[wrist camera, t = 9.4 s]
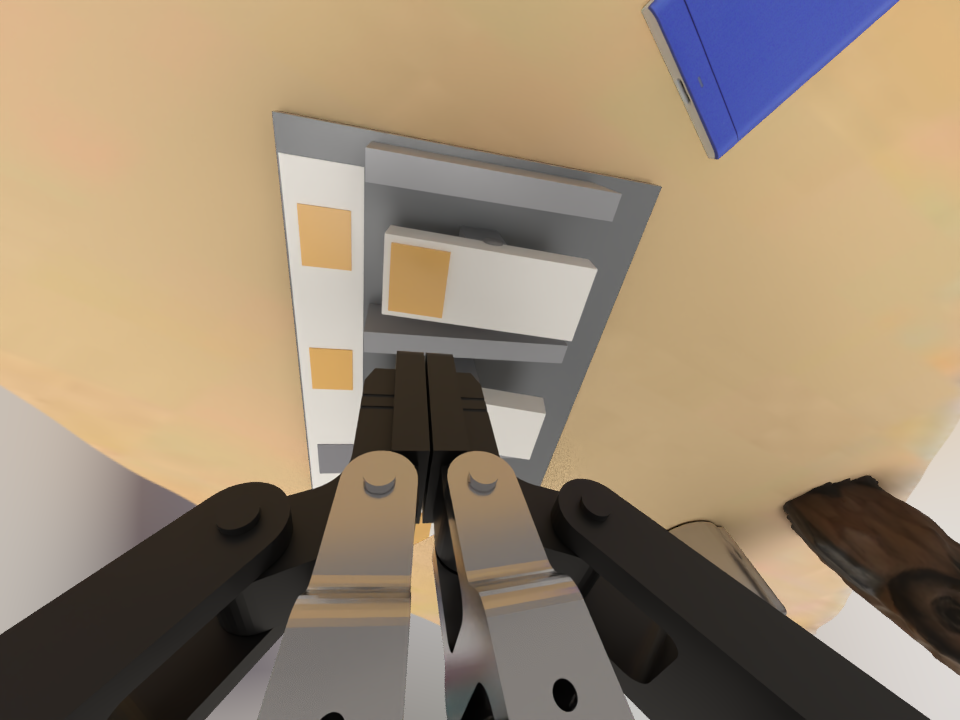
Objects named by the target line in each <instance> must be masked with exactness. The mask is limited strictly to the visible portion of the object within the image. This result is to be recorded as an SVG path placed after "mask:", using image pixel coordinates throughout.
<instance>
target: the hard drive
mask: <svg viewBox="0 0 960 720" xmlns="http://www.w3.org/2000/svg"><path fill="white" fill-rule="evenodd" d="M898 1H899V0H650V1H649V2H648V3H647V4H646V5H645V7H644V8H643V9H642V10H641V11H642V14H643V16H644V18H645V20H646V22H647V25H648V27H649V29H650V31H651V33H652V35H653V38H654V40H655V42H656V44H657V46H658V48H659V51H660V53H661V55H662V57H663V59H664V62H665V64H666V66H667V68H668V70H669V72H670V75H671V77H672V79H673V81H674V84H675V86H676V88H677V90H678V92H679V94H680V96H681V99H682V101H683V103H684V105H685V107H686V110H687V112H688V114H689V116H690V118H691V121H692V123H693V125H694V127H695V129H696V132H697V134H698V136H699V138H700V140H701V143H702V145H703V147H704V149H705V151H706V154H707V156H708V158H711V159H719V158H720V157H721V156H723V155H724V154H725V153H726V152H727V151H728V150H730V149H731V148H732V147H733V146H734V145H735V144H736V143H737V142H738V141H739V140H741V139H742V138H743V137H744V136H745V135H746V134H747V133H749V132H750V131H751V130H752V129H753V128H754V127H755V126H757V125H758V124H759V123H760V122H761V121H762V120H763V119H765V118H766V117H767V116H768V115H769V114H770V113H771V112H773V111H774V110H775V109H776V108H777V107H778V106H779V105H780V104H782V103H783V102H784V101H785V100H786V99H787V98H789V97H790V96H791V95H792V94H793V93H794V92H795V91H796V90H798V89H799V88H800V87H801V86H802V85H803V84H804V83H805V82H807V81H808V80H809V79H810V78H811V77H812V76H814V75H815V74H816V73H817V72H818V71H819V70H821V69H822V68H823V67H824V66H825V65H826V64H827V63H829V62H830V61H831V60H832V59H833V58H834V57H835V56H837V55H838V54H839V53H840V52H841V51H842V50H843V49H845V48H846V47H847V46H848V45H849V44H850V43H851V42H853V41H854V40H855V39H856V38H857V37H858V36H859V35H861V34H862V33H863V32H864V31H865V30H866V29H867V28H869V27H870V26H871V25H872V24H873V23H874V22H875V21H876V20H878V19H879V18H880V17H881V16H882V15H883V14H885V13H886V12H887V11H888V10H889V9H890V8H891V7H892V6H894V5H895V4H896V3H897V2H898Z"/></svg>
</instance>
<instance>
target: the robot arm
mask: <svg viewBox="0 0 960 720" xmlns="http://www.w3.org/2000/svg"><path fill="white" fill-rule="evenodd" d="M421 510H422V523H434V538H435V541H434V547H433V552H432V562H433V570H434V577H435V585H436V593H437V601H438V609H439V617H440V625H441V632H442V640H443V648H444V658H445V703H446V715H447V720H635V719H634V717H633V715H632V713H631V710H630V708H629V705H628V703H627V700H626V698H625V696H624V694H625V695H626V696H627V697H628V698H629V699H630V700H631V701H632V702H633V703H634V704H635V705H636V706H637V707H638V708H639V709H640V710H641V711H642V712H643V713H644V714H645V715H646V716H647V717H648V718H649V719H650V720H930V719H929V718H927V717H926V716H925V715H923V714H922V713H921V712H919V711H918V710H916V709H915V708H914V707H912V706H911V705H910V704H908V703H907V702H905V701H904V700H903V699H901V698H899V697H898V696H897V695H895V694H894V693H893V692H891V691H890V690H888V689H887V688H886V687H884V686H883V685H882V684H880V683H879V682H877V681H876V680H875V679H873V678H872V677H870V676H869V675H868V674H866V673H865V672H863V671H862V670H861V669H859V668H858V667H857V666H855V665H854V664H852V663H851V662H850V661H848V660H847V659H845V658H844V657H843V656H841V655H840V654H838V653H837V652H836V651H834V650H833V649H832V648H830V647H829V646H827V645H826V644H825V643H823V642H822V641H820V640H819V639H817V638H816V637H815V636H813V635H812V634H811V633H809V632H808V631H806V630H805V629H804V628H802V627H801V626H800V625H798V624H797V623H795V622H794V621H793V620H791V619H790V618H788V617H787V616H786V613H787V612H786V609H785V607H784V606H783V604H782V603H781V602H780V601H779V599H778V598H777V597H776V595H775V594H774V593H773V591H772V590H771V589H770V587H769V586H768V585H767V583H766V582H765V581H764V579H763V578H762V577H761V576H760V574H759V573H758V572H757V570H756V569H755V568H754V566H753V565H752V564H751V562H750V561H749V560H748V558H747V557H746V556H745V554H744V553H743V552H742V551H741V549H740V548H739V547H738V545H737V544H736V543H735V541H734V540H733V539H732V537H731V536H730V535H729V533H728V532H727V531H726V529H725V528H724V527H717V526H715V525H714V524H713V523H710V522H704V521H702V522H693V523H688V524H685V525H681V526H679V527H676V528H674V529H672V530H670V531H667V530H666V529H664V528H663V527H662V526H660V525H659V524H657V523H656V522H655V521H653V520H652V519H651V518H649V517H648V516H646V515H645V514H644V513H642V512H641V511H639V510H638V509H637V508H635V507H634V506H632V505H631V504H630V503H628V502H627V501H625V500H624V499H623V498H621V497H620V496H618V495H617V494H616V493H614V492H613V491H612V490H610V489H609V488H607V487H606V486H604V485H602V484H600V483H598V482H595V481H592V480H588V479H575V480H571V481H569V482H567V483H566V484H564V485H563V487H562V488H561V490H560V492H559V491H555V490H551V489H548V488H544V487H540V486H537V485H533V484H530V483H527V482H525V481H523V480H521V479H520V478H518V477H516V475H515V473H514V471H513V469H512V468H511V466H510V465H509V464H508V463H507V462H506V461H504V460H503V459H502V458H500V455H499V452H498V448H497V444H496V440H495V437H494V433H493V429H492V425H491V421H490V418H489V414H488V412H487V406H486V402H485V401H484V395H483V391H482V387H481V384H480V383H479V382H478V381H477V380H476V379H475V378H474V376H473V375H472V374H471V373H461V372H456V369H455V363H454V358H453V354H443V353H428V352H426V354H425V359H424V352H411V351H397V355H396V369H383V368H375V369H374V370H373V371H372V372H371V373H370V374H369V375H368V376H367V378H366V379H365V381H364V387H363V393H362V399H361V404H360V410H359V416H358V422H357V428H356V434H355V440H354V446H353V452H352V456H351V460H350V462H349V464H348V465H347V466H346V467H345V469H344V470H343V472H342V473H341V474H340V475H339V476H337V477H336V478H335V479H333V480H332V481H330V482H328V483H326V484H324V485H322V486H320V487H317V488H314V489H311V490H307V491H304V492H300V493H296V494H293V495H289V496H286V494H285V493H284V492H283V491H282V490H281V489H280V488H278V487H276V486H274V485H272V484H269V483H263V482H249V483H243V484H238V485H235V486H232V487H229V488H226V489H224V490H222V491H220V492H218V493H216V494H215V495H213V496H211V497H210V498H208V499H207V500H205V501H204V502H202V503H201V504H199V505H198V506H196V507H195V508H193V509H192V510H190V511H188V512H187V513H185V514H184V515H182V516H181V517H179V518H178V519H176V520H175V521H173V522H172V523H170V524H169V525H167V526H166V527H164V528H162V529H161V530H160V531H158V532H157V533H155V534H153V535H152V536H150V537H149V538H147V539H146V540H144V541H143V542H141V543H140V544H138V545H137V546H135V547H134V548H132V549H130V550H129V551H127V552H126V553H124V554H123V555H121V556H120V557H118V558H117V559H115V560H114V561H112V562H111V563H109V564H108V565H106V566H104V567H103V568H101V569H100V570H99V571H97V572H96V573H94V574H92V575H91V576H89V577H88V578H86V579H85V580H83V581H82V582H80V583H78V584H77V585H75V586H74V587H72V588H71V589H69V590H68V591H66V592H65V593H63V594H62V595H60V596H59V597H57V598H56V599H54V600H53V601H51V602H50V603H48V604H46V605H45V606H43V607H42V608H40V609H39V610H37V611H36V612H34V613H33V614H31V615H30V616H28V617H27V618H25V619H24V620H22V621H21V622H19V623H17V624H16V625H14V626H13V627H12V628H10V629H8V630H7V631H5V632H4V633H3V634H1V635H0V720H205V719H206V718H207V717H208V716H209V715H210V713H211V712H212V711H213V710H214V709H215V708H216V707H217V706H218V705H219V704H220V702H221V701H222V700H223V699H224V698H225V697H226V696H227V695H228V694H229V693H230V692H231V690H232V689H233V688H234V687H235V686H236V685H237V684H238V682H240V680H241V679H242V678H243V677H244V676H245V675H246V674H247V673H248V672H249V671H250V670H251V669H252V667H253V666H254V665H255V664H256V663H257V662H258V661H259V660H260V659H261V658H262V656H263V655H264V654H265V653H266V652H267V651H268V650H269V649H270V648H271V647H272V646H273V644H274V643H275V642H276V641H277V640H278V639H279V638H280V637H281V636H282V635H283V633H284V635H283V638H282V641H281V644H280V648H279V651H278V654H277V657H276V661H275V664H274V667H273V670H272V674H271V677H270V680H269V683H268V686H267V690H266V693H265V696H264V699H263V702H262V706H261V709H260V712H259V715H258V719H257V720H403V718H404V703H405V687H406V673H407V657H408V643H409V627H410V611H411V592H410V589H411V572H412V558H413V543H414V533H415V526H416V524H420V517H421Z"/></svg>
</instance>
